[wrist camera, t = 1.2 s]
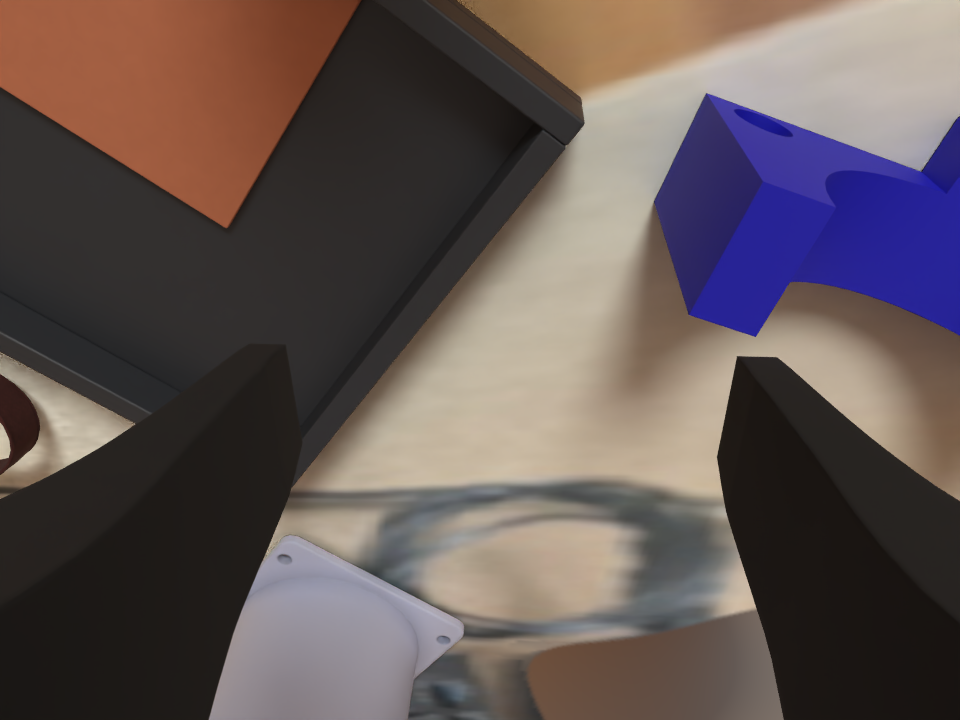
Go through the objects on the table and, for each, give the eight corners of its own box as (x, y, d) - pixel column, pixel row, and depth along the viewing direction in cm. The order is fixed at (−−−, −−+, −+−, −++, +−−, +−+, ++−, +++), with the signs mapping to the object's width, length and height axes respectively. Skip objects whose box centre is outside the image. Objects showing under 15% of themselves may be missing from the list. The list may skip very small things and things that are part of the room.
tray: (297, 458, 27) (280, 502, 25) (-211, 178, 22) (-274, 207, 21) (581, 98, 20) (586, 123, 18) (-80, -420, 15) (-160, -454, 14)
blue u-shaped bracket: (1166, 194, 20) (1372, 312, 15) (1043, 336, 23) (1185, 477, 18) (735, 31, 19) (807, 102, 14) (654, 201, 21) (688, 314, 16)
